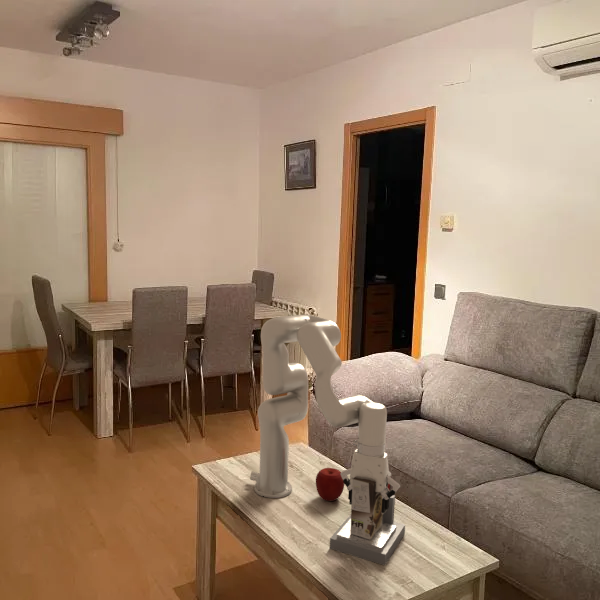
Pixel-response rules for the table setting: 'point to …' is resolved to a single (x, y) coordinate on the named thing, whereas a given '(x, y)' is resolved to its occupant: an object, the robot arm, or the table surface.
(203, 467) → the table surface
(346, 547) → the base
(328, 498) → the apple
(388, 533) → the scale pan
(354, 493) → the coffee box
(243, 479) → the table surface
